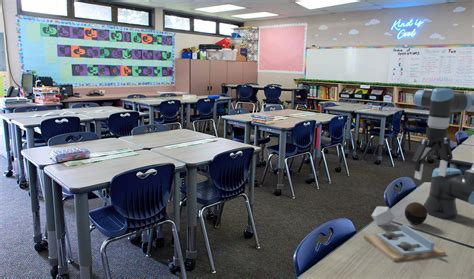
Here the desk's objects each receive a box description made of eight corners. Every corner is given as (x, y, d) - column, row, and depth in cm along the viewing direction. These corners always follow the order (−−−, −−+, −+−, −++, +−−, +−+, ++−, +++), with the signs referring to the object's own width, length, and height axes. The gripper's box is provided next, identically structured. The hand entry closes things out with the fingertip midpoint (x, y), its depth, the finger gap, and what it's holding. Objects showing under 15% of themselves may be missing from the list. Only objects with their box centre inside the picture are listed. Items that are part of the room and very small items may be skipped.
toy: (397, 219, 170) (400, 200, 168) (414, 218, 173) (417, 198, 171) (413, 228, 161) (416, 207, 159) (430, 226, 164) (433, 206, 162)
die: (390, 232, 158) (401, 212, 160) (372, 220, 159) (384, 201, 160) (381, 230, 167) (392, 211, 168) (365, 219, 167) (376, 201, 169)
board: (411, 233, 157) (412, 225, 156) (444, 254, 140) (446, 246, 139) (363, 238, 150) (364, 230, 149) (393, 261, 133) (394, 252, 132)
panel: (403, 232, 154) (404, 224, 153) (433, 251, 139) (434, 242, 138) (375, 235, 150) (377, 227, 149) (403, 255, 135) (404, 246, 134)
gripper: (451, 124, 153) (443, 171, 158) (406, 126, 144) (400, 177, 149) (467, 127, 146) (459, 177, 151) (422, 130, 137) (414, 182, 142)
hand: (429, 177), depth 150 cm, fingers open, 13 cm apart
